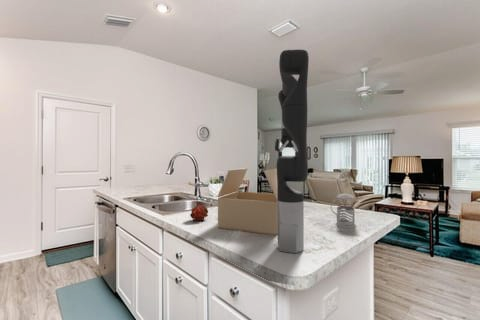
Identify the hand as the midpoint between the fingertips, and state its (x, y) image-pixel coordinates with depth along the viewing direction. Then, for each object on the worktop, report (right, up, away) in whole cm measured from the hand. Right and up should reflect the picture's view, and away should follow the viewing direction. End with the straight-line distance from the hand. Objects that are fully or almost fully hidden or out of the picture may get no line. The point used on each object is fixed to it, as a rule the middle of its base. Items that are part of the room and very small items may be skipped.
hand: (288, 159), depth 124 cm
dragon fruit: (-47, -32, +2) cm, 57 cm away
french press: (+25, -32, -8) cm, 42 cm away
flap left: (-28, -11, -3) cm, 30 cm away
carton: (-18, -32, -7) cm, 37 cm away
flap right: (-8, -11, -11) cm, 18 cm away
